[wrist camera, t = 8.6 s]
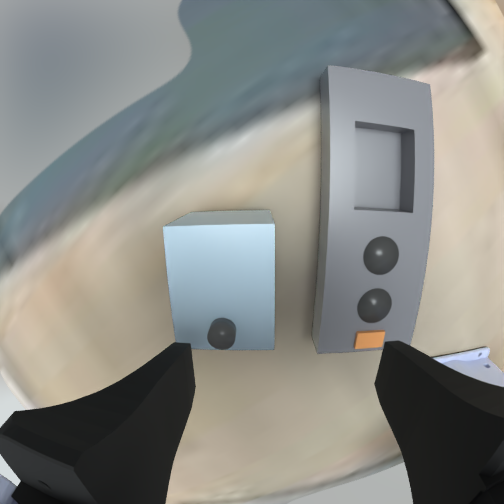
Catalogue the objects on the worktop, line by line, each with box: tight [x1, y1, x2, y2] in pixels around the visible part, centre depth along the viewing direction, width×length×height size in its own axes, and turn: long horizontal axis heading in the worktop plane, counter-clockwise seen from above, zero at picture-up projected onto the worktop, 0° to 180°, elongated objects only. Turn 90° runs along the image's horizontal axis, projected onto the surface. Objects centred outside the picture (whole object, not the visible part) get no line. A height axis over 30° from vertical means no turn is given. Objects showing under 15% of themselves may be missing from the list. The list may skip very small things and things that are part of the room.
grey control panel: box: [312, 65, 434, 354], centre depth 18 cm, size 7×18×3 cm, turn 0°
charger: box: [163, 210, 275, 350], centre depth 16 cm, size 5×6×8 cm
